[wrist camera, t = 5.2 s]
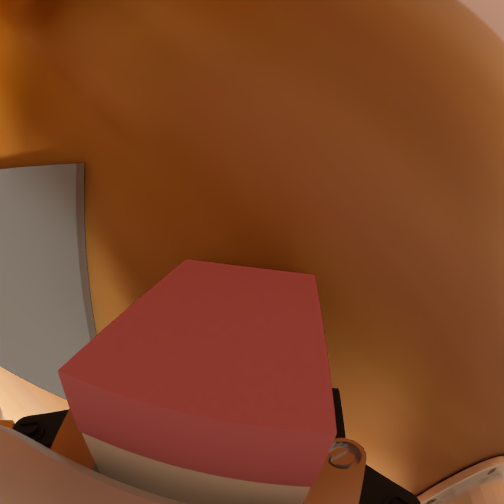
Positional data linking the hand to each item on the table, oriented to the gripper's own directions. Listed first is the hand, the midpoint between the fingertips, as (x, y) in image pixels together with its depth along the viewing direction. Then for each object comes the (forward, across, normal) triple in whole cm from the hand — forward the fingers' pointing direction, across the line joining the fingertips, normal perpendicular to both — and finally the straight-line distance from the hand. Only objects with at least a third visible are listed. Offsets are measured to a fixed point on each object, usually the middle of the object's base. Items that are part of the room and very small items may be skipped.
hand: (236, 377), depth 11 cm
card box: (+1, 0, 0) cm, 1 cm away
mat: (+2, +17, 0) cm, 17 cm away
